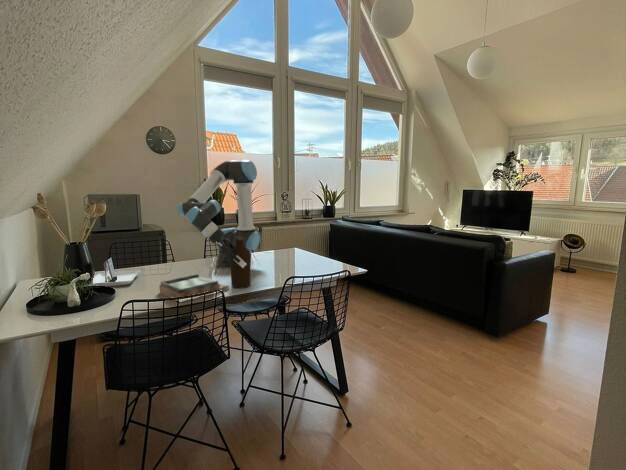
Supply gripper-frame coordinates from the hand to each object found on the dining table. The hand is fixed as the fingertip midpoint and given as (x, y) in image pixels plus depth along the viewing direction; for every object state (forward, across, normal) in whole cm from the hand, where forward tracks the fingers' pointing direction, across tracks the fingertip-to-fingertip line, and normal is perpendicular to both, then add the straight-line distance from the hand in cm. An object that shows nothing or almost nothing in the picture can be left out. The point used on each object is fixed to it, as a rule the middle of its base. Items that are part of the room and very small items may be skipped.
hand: (246, 263), depth 173 cm
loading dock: (-9, +7, -25) cm, 28 cm away
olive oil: (+6, 0, -10) cm, 12 cm away
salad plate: (-41, -12, -58) cm, 72 cm away
